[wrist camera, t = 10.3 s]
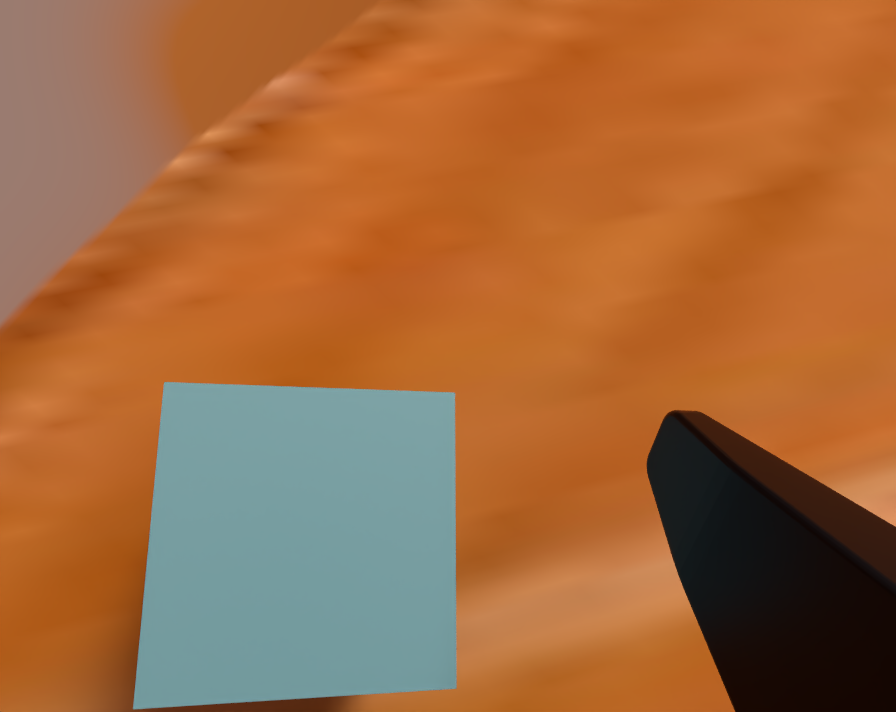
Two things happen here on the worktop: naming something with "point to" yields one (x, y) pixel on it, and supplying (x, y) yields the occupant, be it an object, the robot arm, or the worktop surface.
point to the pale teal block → (299, 545)
